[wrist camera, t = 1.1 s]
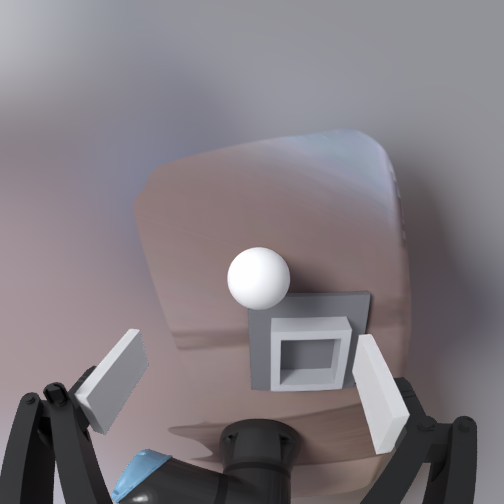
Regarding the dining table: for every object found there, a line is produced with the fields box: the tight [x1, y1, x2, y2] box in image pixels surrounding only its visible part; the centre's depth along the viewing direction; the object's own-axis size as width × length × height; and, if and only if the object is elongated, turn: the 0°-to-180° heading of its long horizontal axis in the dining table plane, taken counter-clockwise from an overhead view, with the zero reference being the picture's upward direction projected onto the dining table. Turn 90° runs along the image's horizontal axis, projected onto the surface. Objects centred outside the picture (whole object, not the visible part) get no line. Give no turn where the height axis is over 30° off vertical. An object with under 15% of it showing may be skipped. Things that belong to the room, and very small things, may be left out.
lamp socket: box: [248, 291, 370, 391], centre depth 36 cm, size 16×16×5 cm
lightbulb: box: [228, 247, 290, 310], centre depth 30 cm, size 6×6×11 cm
